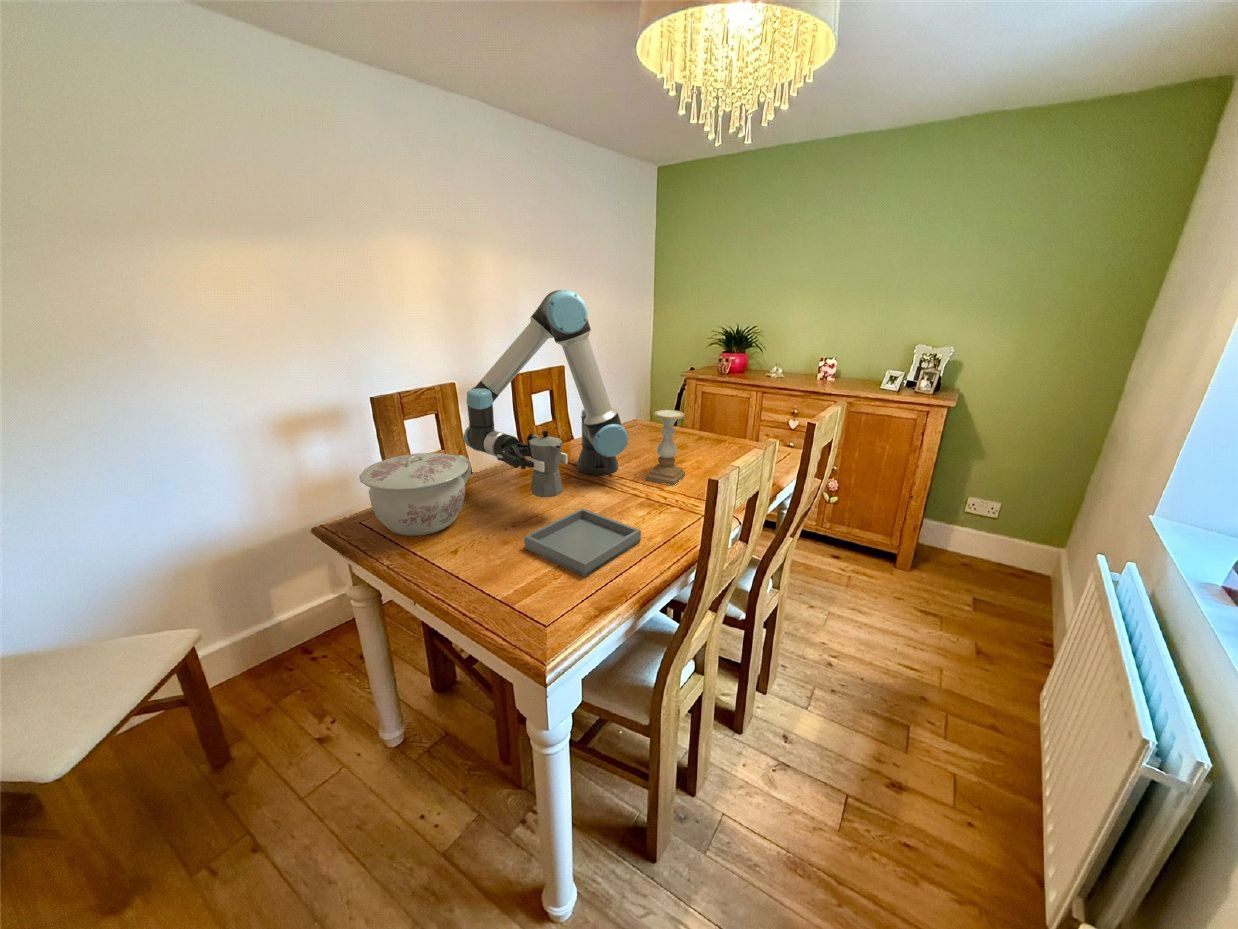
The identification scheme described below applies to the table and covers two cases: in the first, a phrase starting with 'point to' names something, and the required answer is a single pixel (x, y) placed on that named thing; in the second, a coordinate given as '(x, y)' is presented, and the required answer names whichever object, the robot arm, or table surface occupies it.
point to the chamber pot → (417, 491)
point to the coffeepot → (546, 464)
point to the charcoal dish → (582, 541)
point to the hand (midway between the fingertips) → (555, 463)
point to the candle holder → (667, 451)
